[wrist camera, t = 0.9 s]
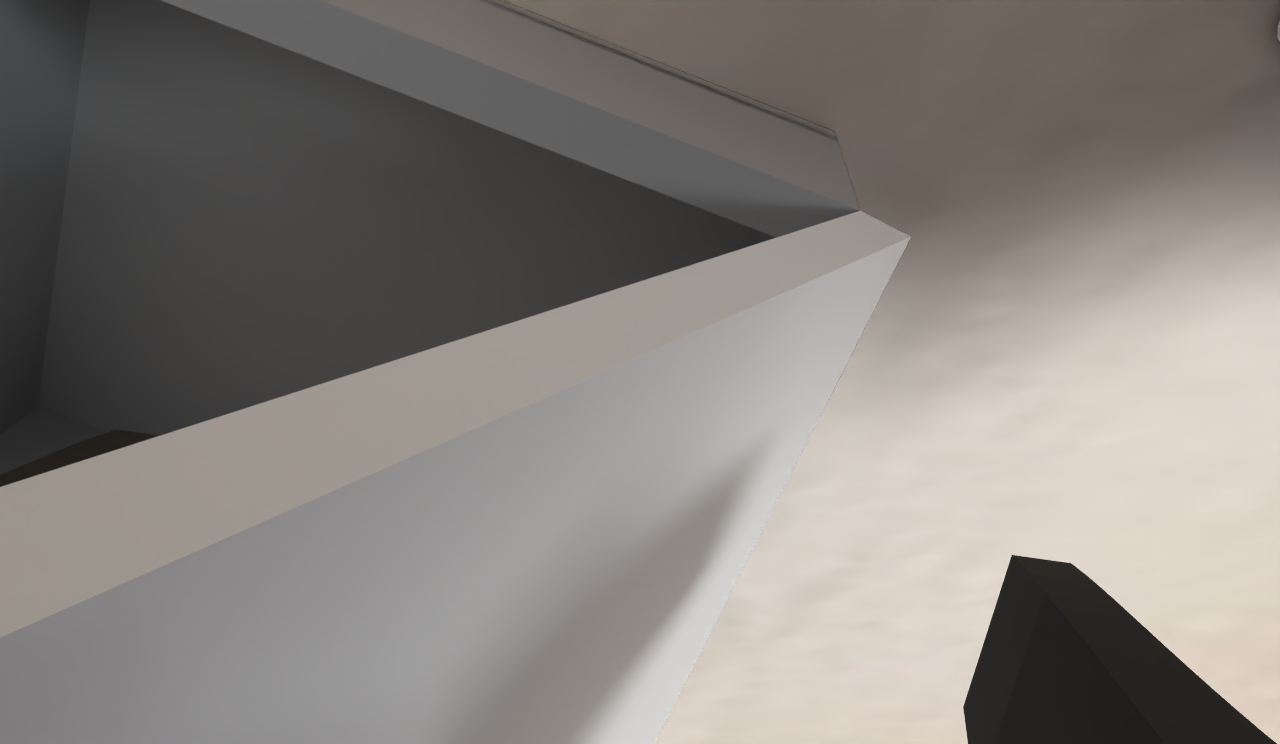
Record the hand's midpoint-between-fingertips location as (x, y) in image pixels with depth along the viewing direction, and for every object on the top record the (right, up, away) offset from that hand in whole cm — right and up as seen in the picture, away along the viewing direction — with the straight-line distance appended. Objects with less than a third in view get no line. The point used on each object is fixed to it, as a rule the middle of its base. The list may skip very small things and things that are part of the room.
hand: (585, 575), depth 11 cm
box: (-5, +4, +10) cm, 12 cm away
